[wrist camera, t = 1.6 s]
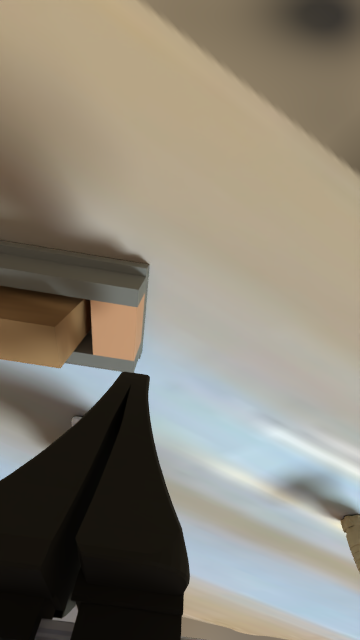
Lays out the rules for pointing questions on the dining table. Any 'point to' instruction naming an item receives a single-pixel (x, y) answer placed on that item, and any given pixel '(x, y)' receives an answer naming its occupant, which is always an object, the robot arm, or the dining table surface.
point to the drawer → (41, 326)
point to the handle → (353, 536)
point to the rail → (87, 283)
